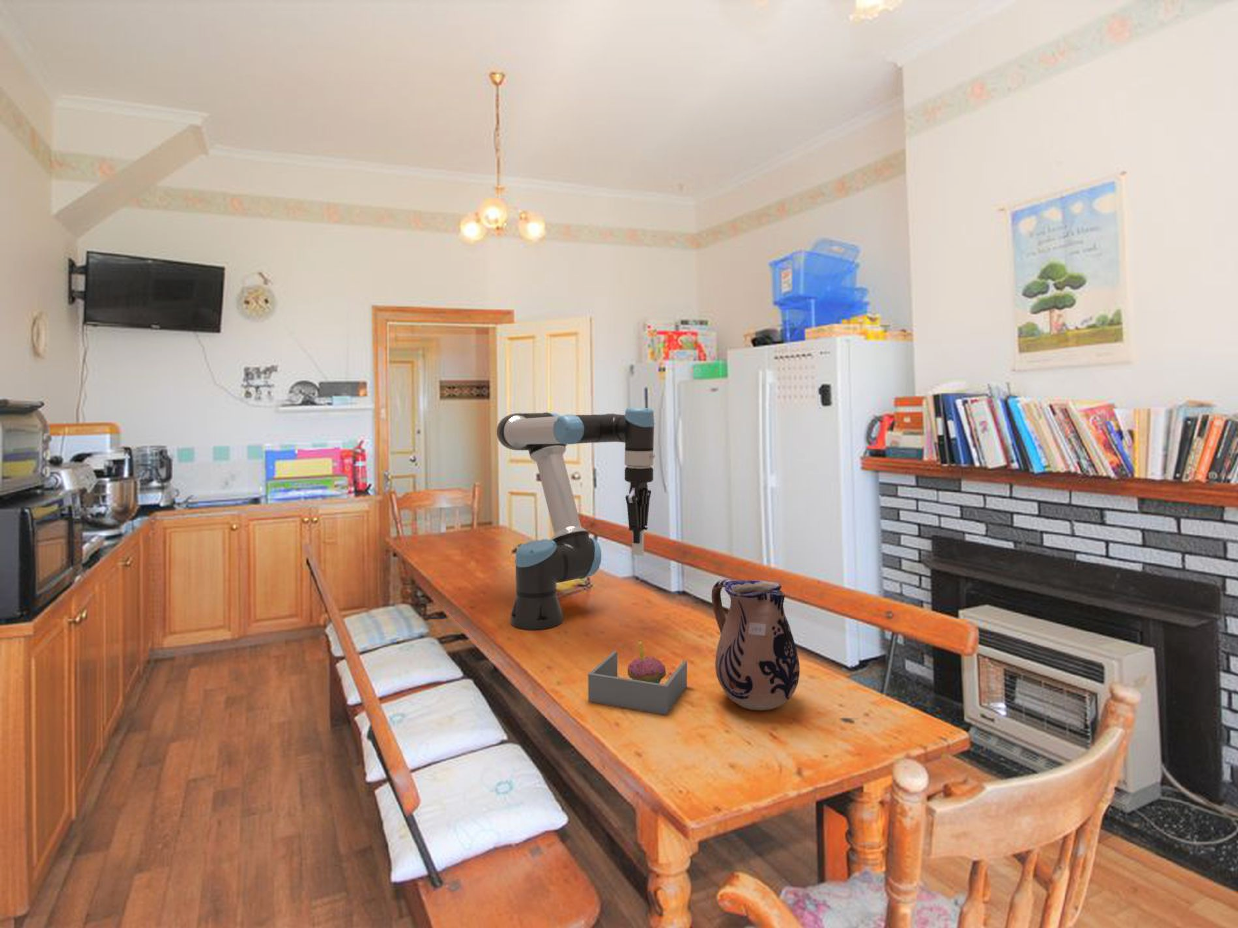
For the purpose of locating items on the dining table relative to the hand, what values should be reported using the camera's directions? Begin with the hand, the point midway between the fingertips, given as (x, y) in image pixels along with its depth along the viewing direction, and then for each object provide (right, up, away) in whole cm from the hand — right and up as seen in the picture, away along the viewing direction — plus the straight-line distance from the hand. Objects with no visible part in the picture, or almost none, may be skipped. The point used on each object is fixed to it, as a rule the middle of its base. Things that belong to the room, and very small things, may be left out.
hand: (638, 554), depth 180 cm
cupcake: (+1, -26, -30) cm, 40 cm away
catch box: (-1, -26, -32) cm, 41 cm away
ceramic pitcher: (+23, -27, -35) cm, 50 cm away
